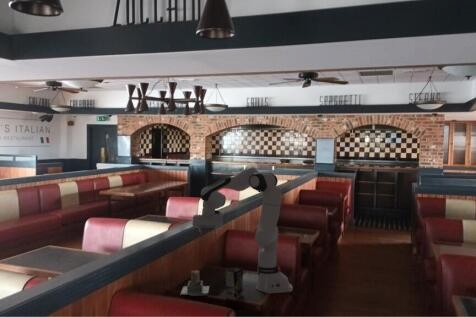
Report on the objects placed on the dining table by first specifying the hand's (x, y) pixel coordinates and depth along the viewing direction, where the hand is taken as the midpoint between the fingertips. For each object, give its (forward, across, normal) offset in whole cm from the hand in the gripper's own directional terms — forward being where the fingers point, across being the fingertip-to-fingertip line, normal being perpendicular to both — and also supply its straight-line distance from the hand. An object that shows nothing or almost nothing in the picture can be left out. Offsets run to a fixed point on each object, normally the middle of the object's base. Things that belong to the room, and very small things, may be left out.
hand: (207, 232), depth 256 cm
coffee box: (+42, +18, +4) cm, 46 cm away
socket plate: (+37, -6, +9) cm, 38 cm away
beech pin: (+36, -6, +8) cm, 37 cm away
